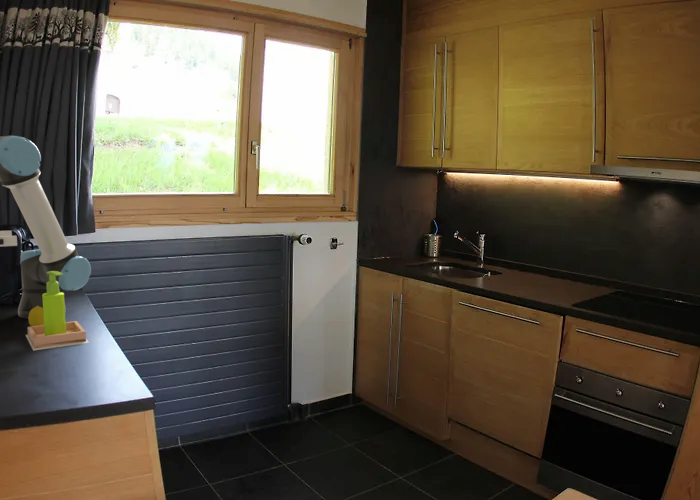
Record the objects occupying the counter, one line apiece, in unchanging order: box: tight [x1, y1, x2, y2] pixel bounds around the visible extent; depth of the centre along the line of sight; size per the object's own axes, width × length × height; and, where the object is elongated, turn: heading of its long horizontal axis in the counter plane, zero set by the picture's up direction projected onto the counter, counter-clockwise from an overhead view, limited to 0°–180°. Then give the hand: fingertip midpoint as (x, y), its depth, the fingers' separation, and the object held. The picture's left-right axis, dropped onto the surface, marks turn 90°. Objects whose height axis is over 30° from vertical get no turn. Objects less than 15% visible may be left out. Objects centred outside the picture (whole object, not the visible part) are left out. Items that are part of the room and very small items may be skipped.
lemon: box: [28, 306, 44, 327], centre depth 199 cm, size 6×6×8 cm
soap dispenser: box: [42, 271, 67, 336], centre depth 187 cm, size 6×7×20 cm
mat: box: [25, 334, 90, 351], centre depth 189 cm, size 18×15×1 cm
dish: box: [27, 320, 87, 348], centre depth 189 cm, size 14×14×3 cm
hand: (14, 237), depth 179 cm, fingers open, 13 cm apart
